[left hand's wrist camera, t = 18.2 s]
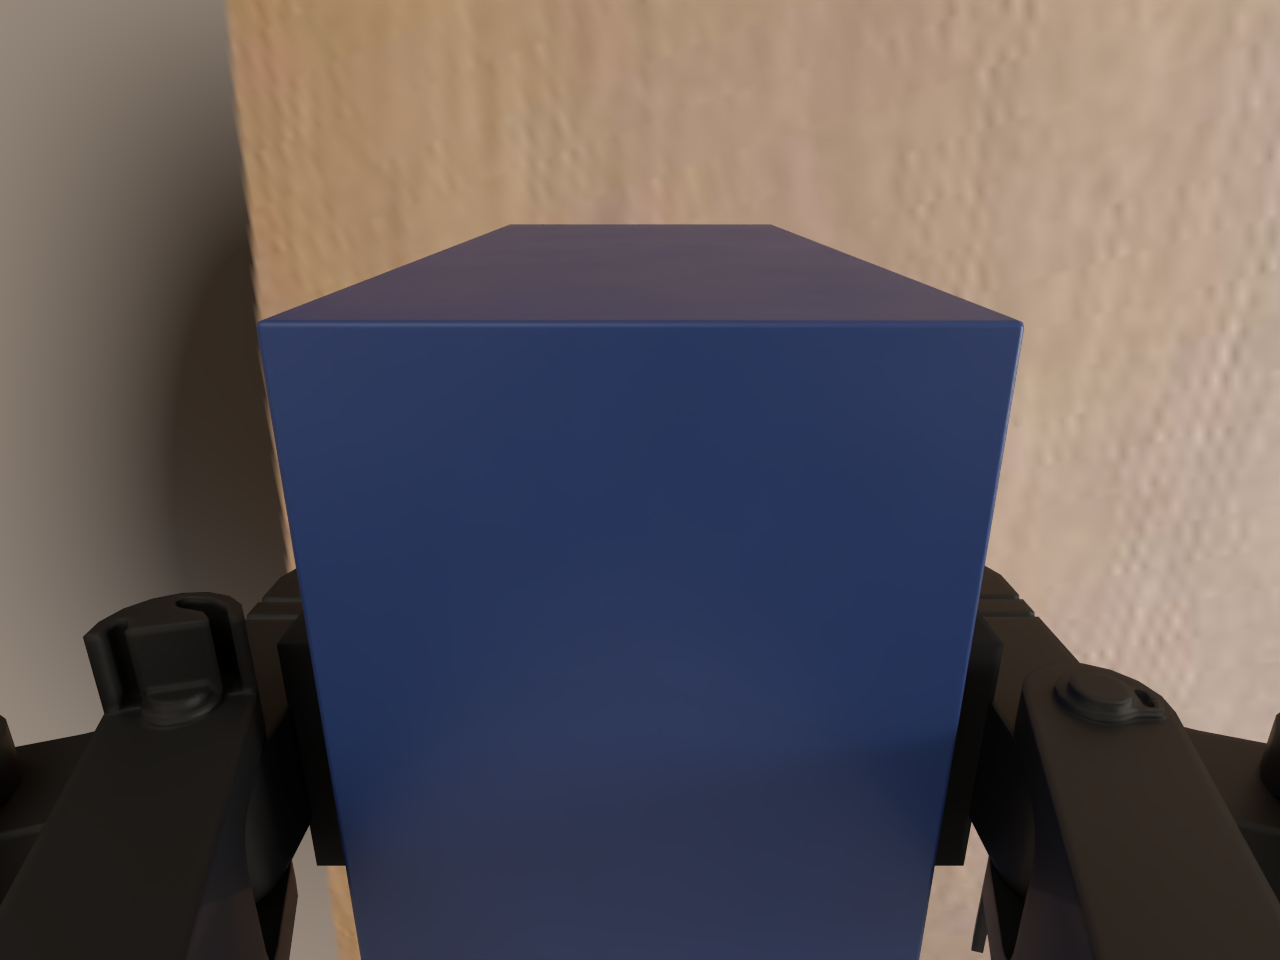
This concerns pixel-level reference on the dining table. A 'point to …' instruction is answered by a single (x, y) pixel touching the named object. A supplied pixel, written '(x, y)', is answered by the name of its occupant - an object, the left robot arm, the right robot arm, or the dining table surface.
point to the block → (640, 587)
